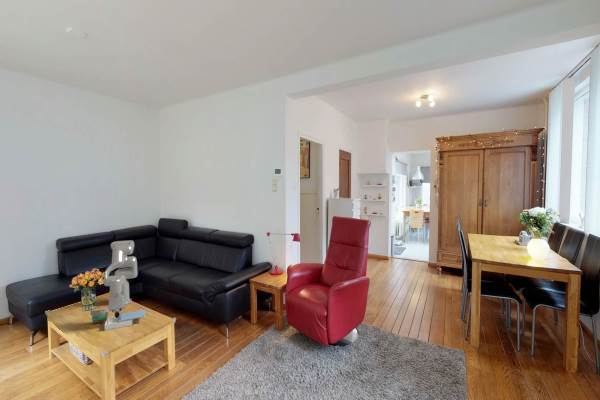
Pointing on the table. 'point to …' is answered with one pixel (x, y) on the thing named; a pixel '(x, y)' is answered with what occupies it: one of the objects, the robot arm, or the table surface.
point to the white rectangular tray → (116, 323)
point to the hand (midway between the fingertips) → (117, 317)
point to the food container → (99, 316)
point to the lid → (131, 315)
